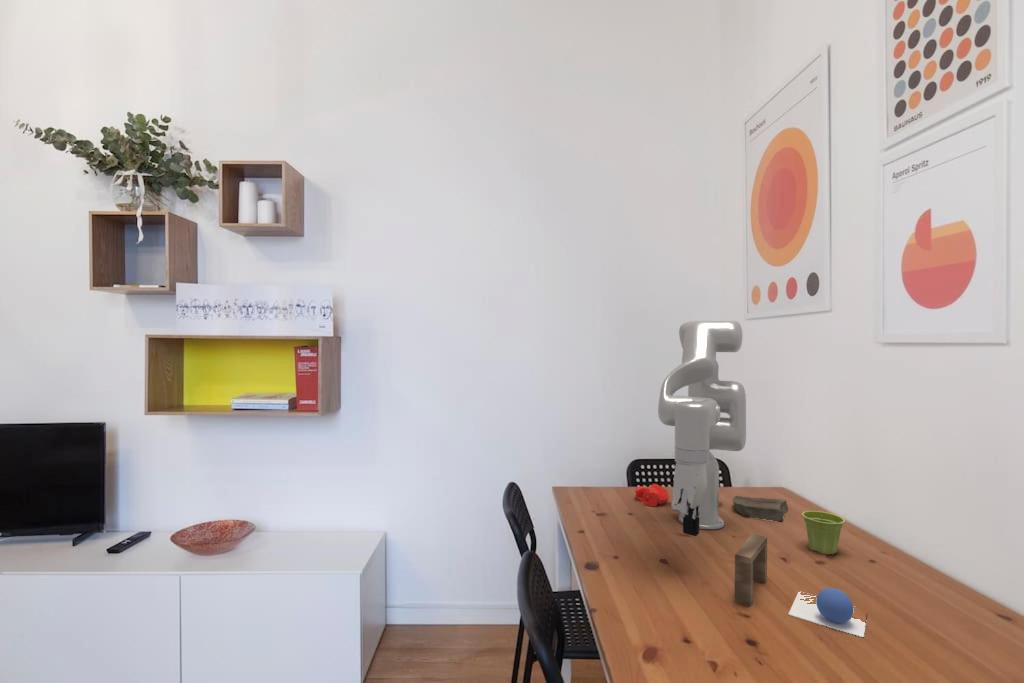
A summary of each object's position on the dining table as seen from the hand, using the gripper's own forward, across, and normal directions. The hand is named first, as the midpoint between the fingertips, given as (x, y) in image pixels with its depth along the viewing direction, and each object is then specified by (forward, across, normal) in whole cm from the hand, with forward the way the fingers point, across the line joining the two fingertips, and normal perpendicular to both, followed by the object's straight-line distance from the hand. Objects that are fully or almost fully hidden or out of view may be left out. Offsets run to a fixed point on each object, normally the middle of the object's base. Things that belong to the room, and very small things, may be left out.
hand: (691, 533), depth 116 cm
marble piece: (+12, -57, +3) cm, 58 cm away
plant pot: (+10, -35, +22) cm, 42 cm away
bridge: (+8, +1, +13) cm, 16 cm away
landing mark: (+8, +1, +27) cm, 29 cm away
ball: (+5, +4, +28) cm, 29 cm away
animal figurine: (+11, -46, -29) cm, 56 cm away
